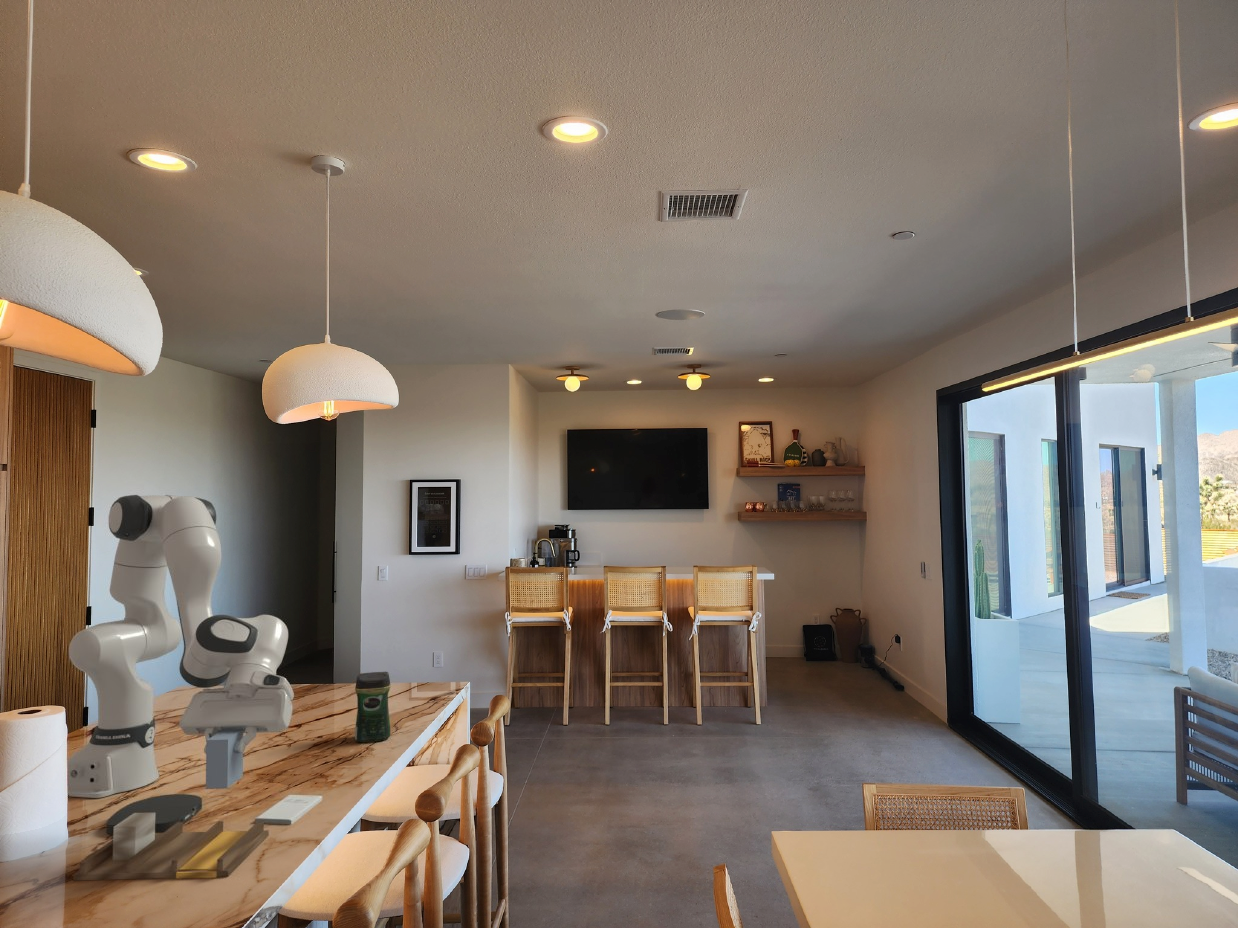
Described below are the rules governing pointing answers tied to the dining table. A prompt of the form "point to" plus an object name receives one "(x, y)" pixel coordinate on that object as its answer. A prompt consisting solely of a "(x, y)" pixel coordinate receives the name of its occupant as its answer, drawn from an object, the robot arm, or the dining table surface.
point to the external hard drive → (289, 809)
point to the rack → (169, 851)
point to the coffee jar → (372, 707)
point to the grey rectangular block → (223, 760)
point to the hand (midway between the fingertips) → (223, 752)
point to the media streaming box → (160, 810)
